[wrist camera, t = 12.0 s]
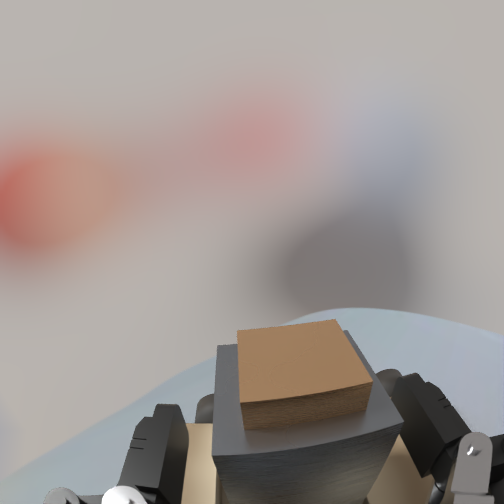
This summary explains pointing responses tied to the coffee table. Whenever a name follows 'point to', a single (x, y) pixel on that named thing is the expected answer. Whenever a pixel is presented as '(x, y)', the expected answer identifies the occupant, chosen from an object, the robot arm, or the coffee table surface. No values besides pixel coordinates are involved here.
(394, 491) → the chassis
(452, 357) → the coffee table surface
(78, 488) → the coffee table surface
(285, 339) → the block
